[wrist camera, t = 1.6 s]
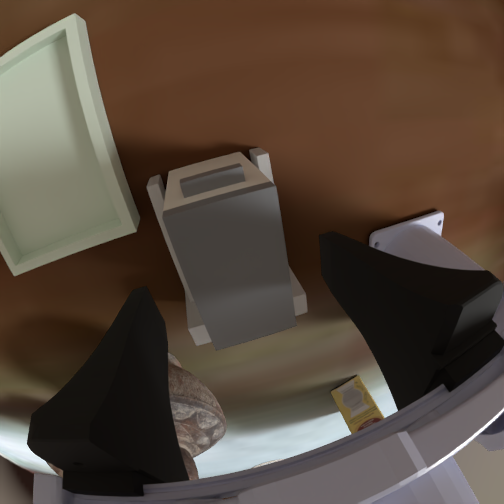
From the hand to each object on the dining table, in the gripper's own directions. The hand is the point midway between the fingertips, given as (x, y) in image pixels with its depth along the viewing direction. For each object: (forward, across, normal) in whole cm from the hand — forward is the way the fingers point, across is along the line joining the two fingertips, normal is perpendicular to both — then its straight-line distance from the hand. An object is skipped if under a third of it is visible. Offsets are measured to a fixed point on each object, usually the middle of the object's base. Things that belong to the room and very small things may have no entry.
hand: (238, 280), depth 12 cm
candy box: (+6, -10, +28) cm, 31 cm away
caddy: (+6, 0, 0) cm, 7 cm away
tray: (+6, +9, -7) cm, 13 cm away
